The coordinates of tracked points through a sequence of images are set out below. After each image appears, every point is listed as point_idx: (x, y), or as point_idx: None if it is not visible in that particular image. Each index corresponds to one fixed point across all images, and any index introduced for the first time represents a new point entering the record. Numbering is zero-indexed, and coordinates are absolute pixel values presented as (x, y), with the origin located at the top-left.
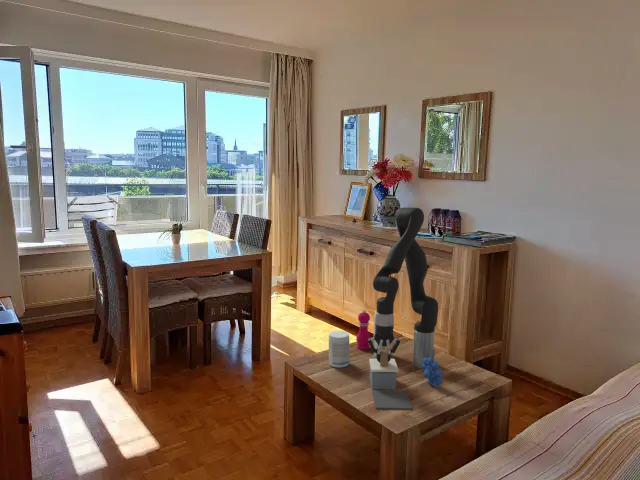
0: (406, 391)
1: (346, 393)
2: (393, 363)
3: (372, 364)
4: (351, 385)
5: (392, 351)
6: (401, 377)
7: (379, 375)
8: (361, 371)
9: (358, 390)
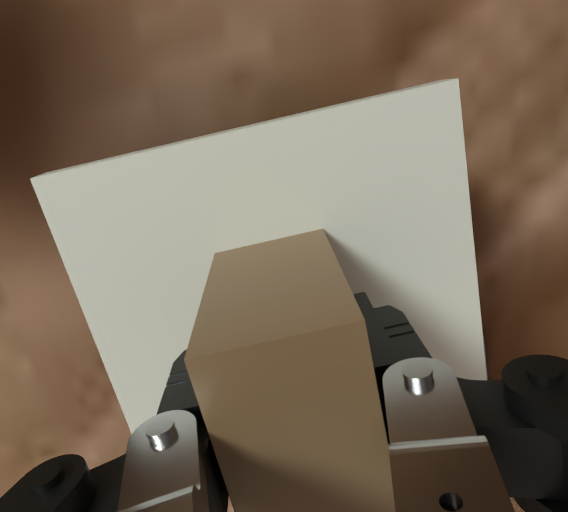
0: (484, 349)
1: (24, 463)
2: (436, 265)
3: (137, 369)
4: (16, 338)
5: (522, 501)
6: (455, 51)
7: None
8: (8, 6)
9: (99, 400)
